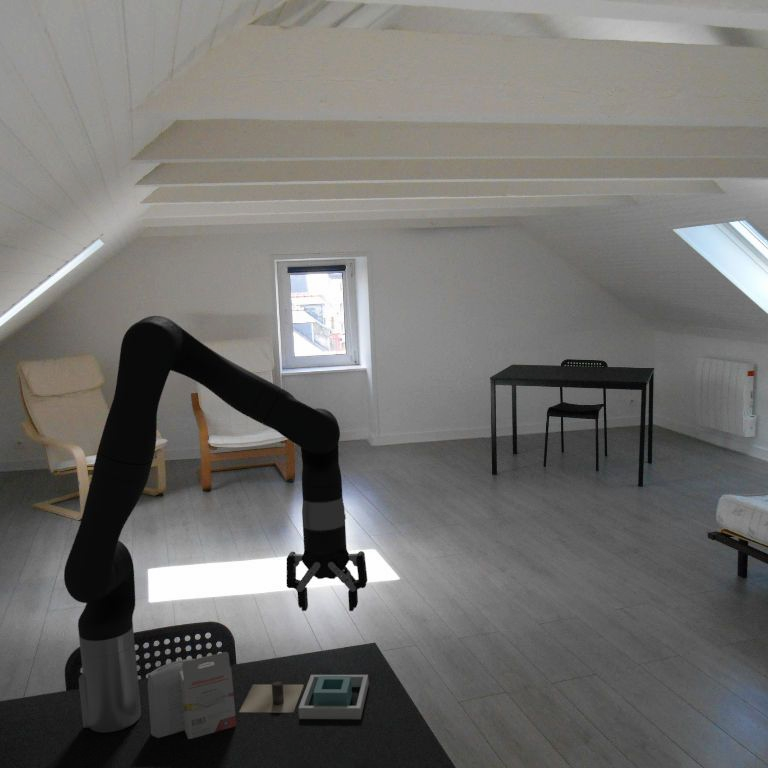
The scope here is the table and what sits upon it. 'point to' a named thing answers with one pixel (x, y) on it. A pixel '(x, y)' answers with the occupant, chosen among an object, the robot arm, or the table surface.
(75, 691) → the table surface
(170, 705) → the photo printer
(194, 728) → the ink cartridge box
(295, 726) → the table surface
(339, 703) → the teal hollow block
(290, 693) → the peg board
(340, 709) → the tray
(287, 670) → the table surface
